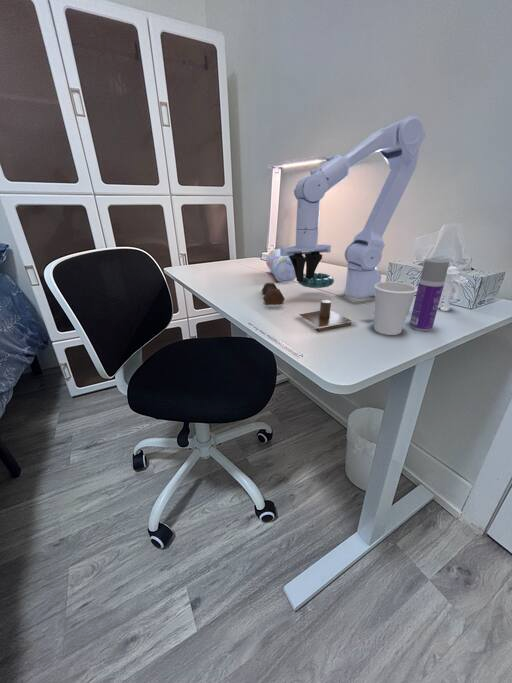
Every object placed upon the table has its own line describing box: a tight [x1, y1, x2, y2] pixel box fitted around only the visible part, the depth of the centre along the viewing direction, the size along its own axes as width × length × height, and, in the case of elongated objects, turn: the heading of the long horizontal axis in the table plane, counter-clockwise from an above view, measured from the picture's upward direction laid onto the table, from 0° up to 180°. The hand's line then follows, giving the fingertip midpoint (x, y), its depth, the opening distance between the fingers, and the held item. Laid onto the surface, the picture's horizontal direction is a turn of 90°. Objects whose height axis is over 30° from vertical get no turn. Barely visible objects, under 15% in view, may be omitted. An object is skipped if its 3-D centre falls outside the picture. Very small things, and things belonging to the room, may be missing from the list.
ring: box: [297, 272, 335, 289], centre depth 82 cm, size 10×10×2 cm
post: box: [298, 299, 352, 333], centre depth 69 cm, size 9×9×5 cm
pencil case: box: [265, 248, 296, 283], centre depth 111 cm, size 21×9×10 cm, turn 7°
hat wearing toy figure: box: [438, 263, 469, 312], centre depth 76 cm, size 9×4×12 cm, turn 20°
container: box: [408, 258, 450, 332], centre depth 63 cm, size 5×5×15 cm
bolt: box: [261, 282, 285, 306], centre depth 85 cm, size 6×5×15 cm
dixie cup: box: [373, 281, 418, 336], centre depth 63 cm, size 8×8×10 cm
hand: (304, 280), depth 81 cm, fingers closed on ring, 2 cm apart
